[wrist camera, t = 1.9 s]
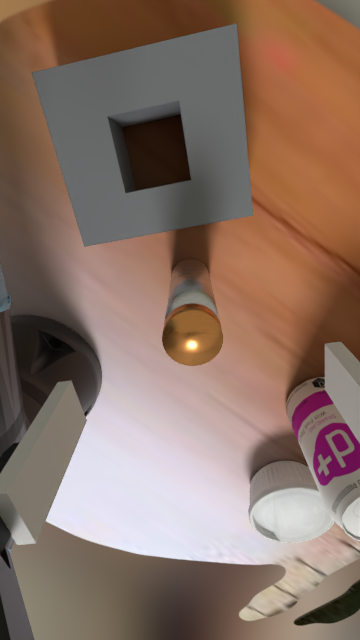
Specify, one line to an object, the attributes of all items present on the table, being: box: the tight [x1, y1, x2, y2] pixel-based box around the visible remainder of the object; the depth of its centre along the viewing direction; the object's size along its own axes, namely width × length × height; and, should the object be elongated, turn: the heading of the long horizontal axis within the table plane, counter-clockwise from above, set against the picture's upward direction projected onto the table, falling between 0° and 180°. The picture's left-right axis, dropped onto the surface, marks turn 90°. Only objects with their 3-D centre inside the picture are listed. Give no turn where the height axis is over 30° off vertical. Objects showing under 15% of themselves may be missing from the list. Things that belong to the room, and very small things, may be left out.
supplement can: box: [286, 377, 360, 541], centre depth 33 cm, size 8×8×15 cm
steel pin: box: [162, 259, 223, 366], centre depth 27 cm, size 4×4×14 cm
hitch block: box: [32, 23, 253, 247], centre depth 26 cm, size 14×12×6 cm
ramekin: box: [249, 461, 335, 543], centre depth 44 cm, size 11×11×5 cm
